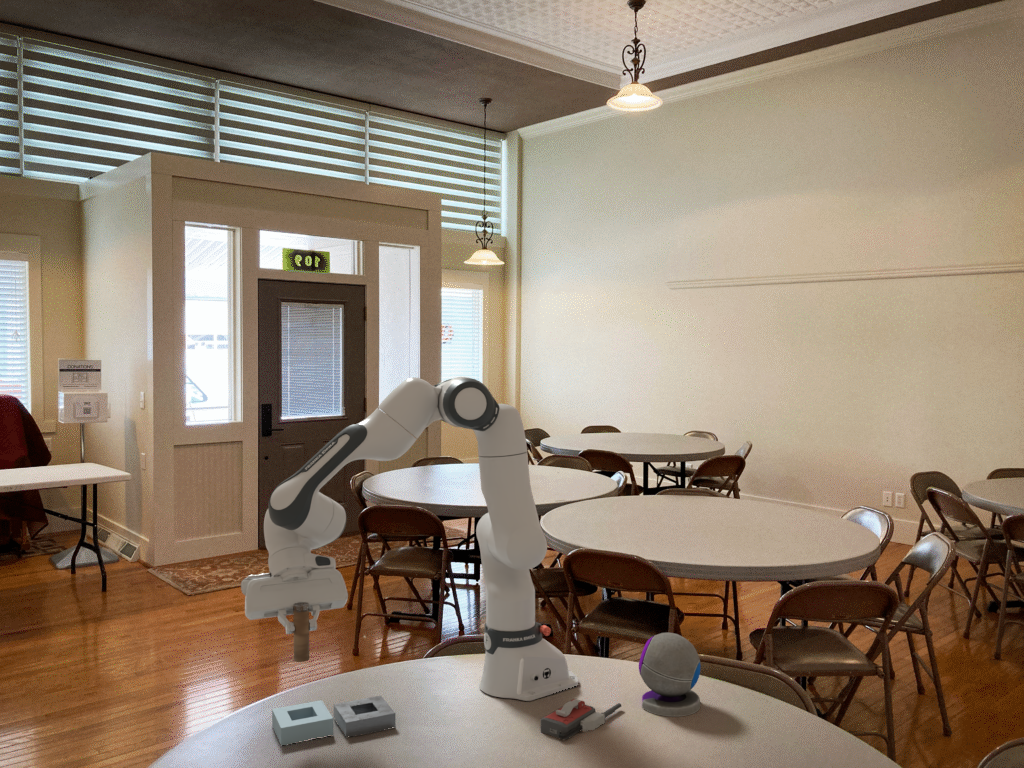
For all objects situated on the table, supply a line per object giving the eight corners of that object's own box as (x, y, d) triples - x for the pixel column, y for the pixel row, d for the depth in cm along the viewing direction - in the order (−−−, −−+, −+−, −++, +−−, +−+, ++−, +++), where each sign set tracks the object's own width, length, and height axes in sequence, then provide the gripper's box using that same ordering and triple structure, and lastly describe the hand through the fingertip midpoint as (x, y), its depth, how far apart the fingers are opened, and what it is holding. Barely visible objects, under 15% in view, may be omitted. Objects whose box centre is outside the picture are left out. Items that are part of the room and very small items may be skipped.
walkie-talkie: (571, 747, 156) (624, 712, 172) (571, 724, 156) (624, 691, 172) (534, 735, 161) (589, 702, 177) (534, 712, 161) (589, 682, 177)
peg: (307, 655, 165) (307, 601, 165) (310, 660, 162) (310, 605, 162) (292, 658, 164) (291, 603, 164) (295, 662, 161) (294, 607, 161)
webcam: (648, 688, 184) (648, 621, 183) (706, 698, 178) (706, 629, 178) (632, 710, 172) (631, 639, 172) (693, 721, 166) (692, 647, 166)
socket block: (381, 709, 173) (380, 695, 173) (395, 727, 164) (395, 713, 164) (333, 718, 169) (333, 704, 169) (346, 737, 160) (345, 722, 160)
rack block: (321, 716, 170) (321, 700, 170) (333, 735, 161) (333, 718, 161) (272, 726, 166) (272, 708, 166) (281, 746, 157) (281, 728, 156)
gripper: (241, 568, 164) (248, 630, 156) (342, 557, 173) (354, 615, 165) (238, 585, 169) (245, 646, 160) (337, 573, 177) (349, 631, 169)
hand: (302, 630), depth 162 cm, fingers closed on peg, 3 cm apart
